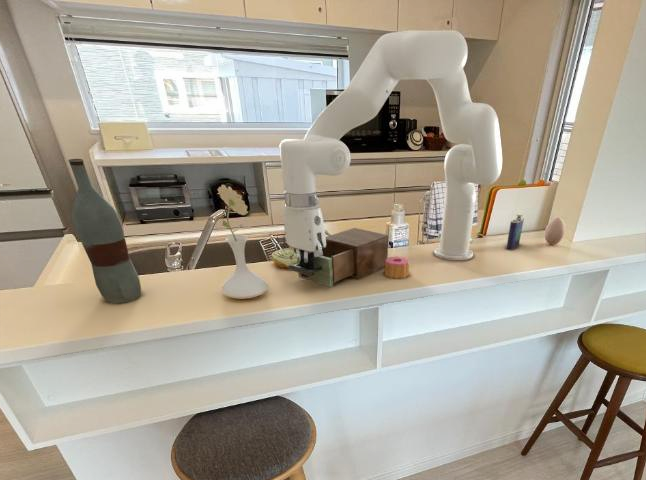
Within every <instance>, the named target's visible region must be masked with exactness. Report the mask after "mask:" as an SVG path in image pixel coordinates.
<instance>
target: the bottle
mask: <svg viewBox="0 0 646 480" xmlns="http://www.w3.org/2000/svg"><path fill="white" fill-rule="evenodd" d="M67 161H68V163H69V166H70V168H71V171H72V175H73V177H74V180H75V183H76V185H77V192H76V195H75V198H74V200H73V201H74V202H73V205H72V209H71V219H72V223H73V227H74V231H75V233H76V235H77V237H78V239H79V240H80V243H81V245H82V247H83V249H84V251H85V253H86V256H87V258H88V260H89V262H90V265H91V269H92V273H93V277H94V282H95V286H96V287H97V290H98V292H99V293H100V295H101V297H102V298H103V300H105V301H106V303H108V304H125V303H130V302H133V301H136V300H138V299H139V298H141V296H142V285H141V280H140V277H139V274H138V271H137V270H136V267H135V266H134V264H133V262H132V260H131V258H130V254H129V253H130V252H129V249H128V245H127V240H126V237H125V231H124V226H123V223H122V221H121V219H120V216H119V214H118V213H117V211H116V209H115V207H113V206H112V204H111V203H109V201H108V200H106V199H105V198H104V197H103V196H102V195H101V193H99V192H98V191H97V190H96V189H95V188H94V187H93V185H92V182H91V179H90V176H89V174H88V171H87V169H86V165H85V163H84V160H83V158H69V159H68V160H67Z"/></svg>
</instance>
